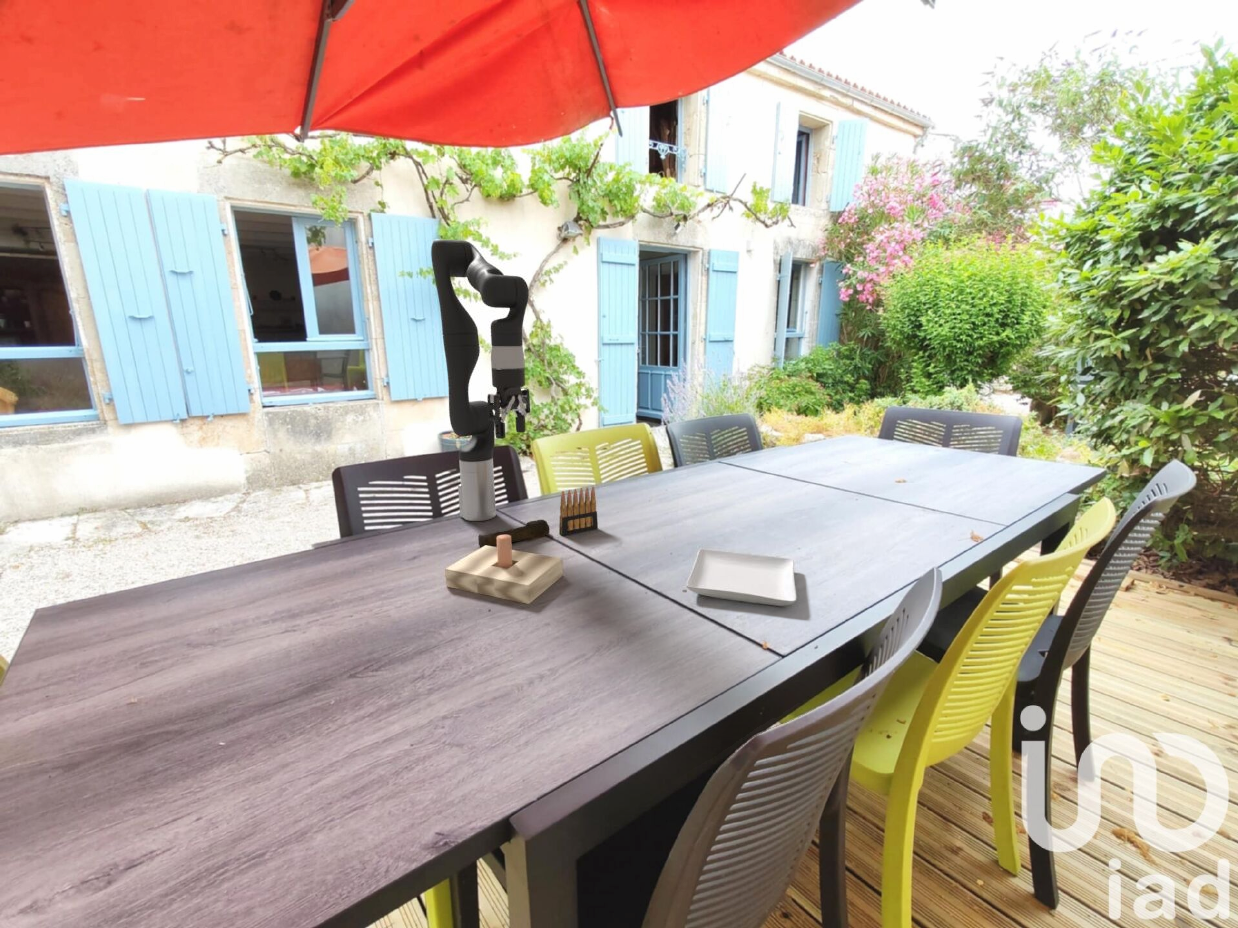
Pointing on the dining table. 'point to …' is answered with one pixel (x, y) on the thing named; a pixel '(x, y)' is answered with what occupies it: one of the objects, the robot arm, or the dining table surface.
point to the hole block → (505, 574)
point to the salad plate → (743, 577)
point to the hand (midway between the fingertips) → (510, 435)
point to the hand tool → (517, 533)
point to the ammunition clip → (578, 513)
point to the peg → (504, 551)
